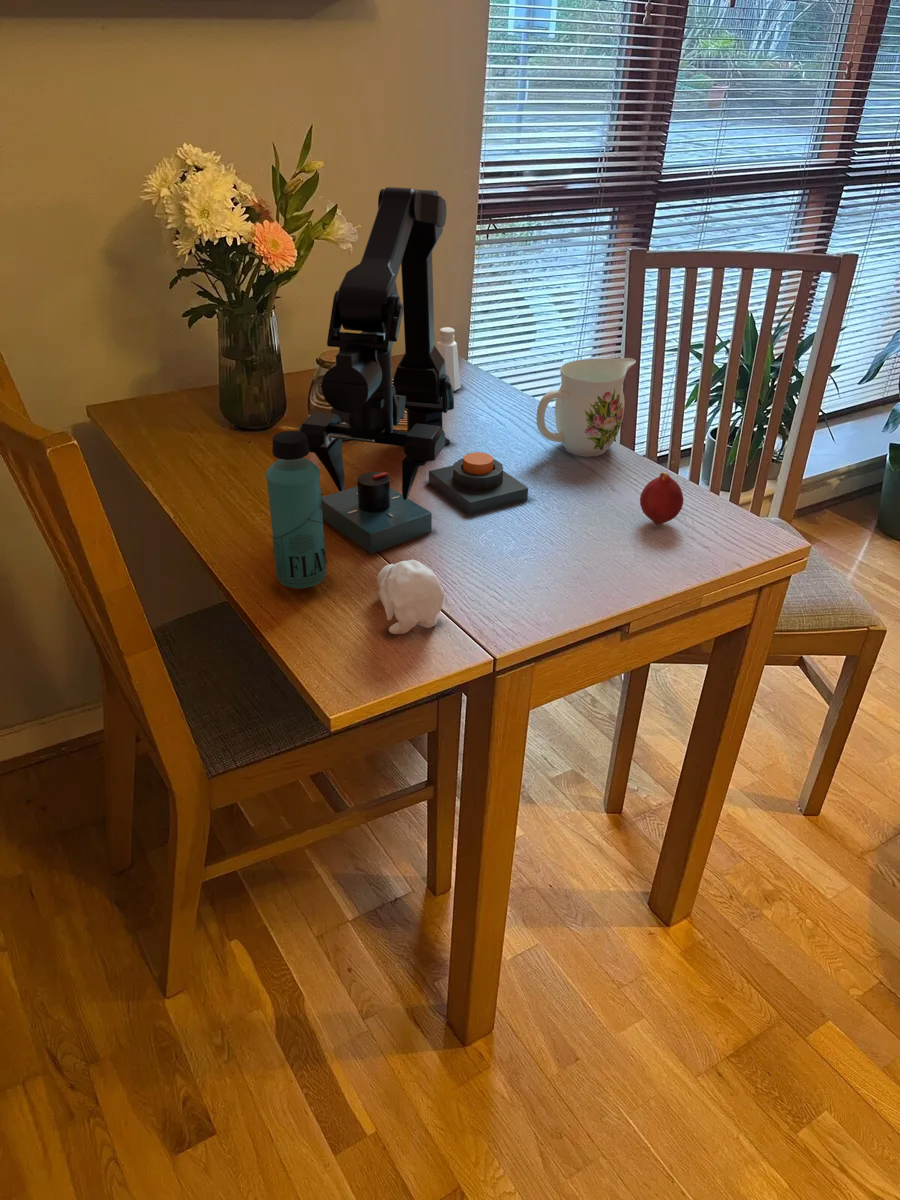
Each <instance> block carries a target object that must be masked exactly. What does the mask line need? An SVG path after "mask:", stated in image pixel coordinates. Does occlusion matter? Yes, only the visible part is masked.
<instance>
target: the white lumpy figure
mask: <svg viewBox="0 0 900 1200" xmlns="http://www.w3.org/2000/svg"><path fill="white" fill-rule="evenodd" d="M377 586H378V588H379V590H377V589H376V592H374V593H375V594H376V595H378V596H377V598H380V603H381V604H382V606H383V608H384V611H385V615H386V619H387V621H391V620H392V619H393V618H394V616H395V618H396V620H397V622H395V623H393V624H391V625H390V626H389V627H388V632H389V633H390V634H393V635H403V634H406V633H408V632H409V631H410V630H412V629H413V628H414V627H416V626H417V624H418V623H419V625H420V626H421V627H423V628H424V629H425V628H426V629H431V628H432V627H434V626H435V625H437V623H438V616H437V615H439V613H440V612H441V611H442V608H443V604H444V599H445V589H444V588H443V586H442V585H441V583H440V580H439V577H438V576H437V575H436V573H435V572H434V571H433V570H432V569H431V568H430V567H428V566H426V565H425V564H424V563H422V562H420V561H418V560H416V559H409V560H401V561H399V562H395V563H388V564H386V565H385V566H384V567H382V568H381V569H380V571H379V572H378V574H377Z"/></svg>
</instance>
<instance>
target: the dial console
mask: <svg viewBox="0 0 900 1200" xmlns="http://www.w3.org/2000/svg"><path fill="white" fill-rule="evenodd" d="M321 499H322V500H323V501H322V500H321V502H322V503H323V504H322V505H323V508H322V516H323V515H324V516H323V519H324V520H323V521H324V522H326V523H327V524H329V525H330V526H332V527H333V528H335V529H336V530H337V531H338V532H340V533H342V535H344V536H346V537H347V538H349V539H350V540H351V541H353V542H354V543H356V544H357V545H359V546H360V547H361V548H362V549H364V550H366V551H367V552H368V553H369V554H371V555H373V554H374V553H378V552H381V551H384V550H386V549H388V548H391V547H394V546H396V545H397V546H398V545H399V544H400V545H401V544H402V543H405V542H409V541H410V540H413V539H417V538H418V537H422V536H424V535H426V534H430V533H432V530H433V529H432V527H433V522H432V520H433V519H432V517H433V516H432V513H433V512H431V511H429V510H428V509H427V508H424V507H423V506H421V505H419V504H418V503H417V502H415V501H413V500H411V499H410V498H409V497H408V498H407V499H406V500H404V499H403V494H402V493H401V492H399V491H397V490H395V489H394V488H392V487H390V507H389V508H388V509H386V510H384V511H381V512H367V511H364V510H362V509H360V508H359V506H358V486H357V485H356V486H353V487H350V488H346V489H344V490H343V491H337V492H334V493H330V494H328V495H325V496H322V498H321ZM323 511H324V512H323Z"/></svg>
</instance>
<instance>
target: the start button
mask: <svg viewBox="0 0 900 1200" xmlns="http://www.w3.org/2000/svg"><path fill="white" fill-rule="evenodd" d="M462 459H463V470H464V471H465V472H468V473H472V474H487V473H491V472H492V471H493V459H494V457H493V456H492V455H491V454H489V453H486V452H481V451H477V452H469V453H466V454H465V455H464V456H463V458H462Z"/></svg>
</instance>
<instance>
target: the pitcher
mask: <svg viewBox="0 0 900 1200" xmlns="http://www.w3.org/2000/svg"><path fill="white" fill-rule="evenodd" d="M636 363H637V360H636V359H635V358H631V357H617V358H584V359H577V360H572V361H568V362H566V363H564V364H562V365H561V366H560V368H559V370H560V372H559V374H560V380H561V385H560V386H559V389H553V390H549V391H547V392H546V393H545V394H544V395H543V396H542V397H541V399H540V401H539V403H538V406H537V410H536V426H537V430H538V432H539V433H540V434H541V436H542V437H544V438H545V439H546V440H547V441H551V442H556V443H561V444H562V445H563V447H564V448H565V450H566V451H567V452H568V453H570V454H573V455H575V456H579V457H597V456H601V455H603V454H605V453H606V451H607V450H609V448H610V447H611V446H612V445H613V443H614V442H615V440H616V438H617V436H618V434H619V432H620V429H621V426H622V422H623V418H624V414H625V406H626V405H625V403H626V402H625V394H624V390H623V385H624V381H625V378H626V376H627V372H628V370H630V368H632V367H633V366H634V365H635V364H636ZM553 400H555V404H554V420H555V421H554V422H555V427H556V431H557V432H552V431H550V430H549V429H548V427H547V426H546V422H545V421H546V420H545V415H546V410H547V408H548V406H549V404H550V403H551V401H553Z"/></svg>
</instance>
